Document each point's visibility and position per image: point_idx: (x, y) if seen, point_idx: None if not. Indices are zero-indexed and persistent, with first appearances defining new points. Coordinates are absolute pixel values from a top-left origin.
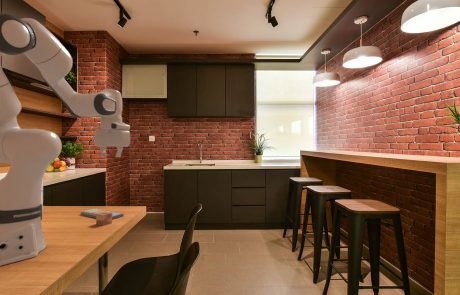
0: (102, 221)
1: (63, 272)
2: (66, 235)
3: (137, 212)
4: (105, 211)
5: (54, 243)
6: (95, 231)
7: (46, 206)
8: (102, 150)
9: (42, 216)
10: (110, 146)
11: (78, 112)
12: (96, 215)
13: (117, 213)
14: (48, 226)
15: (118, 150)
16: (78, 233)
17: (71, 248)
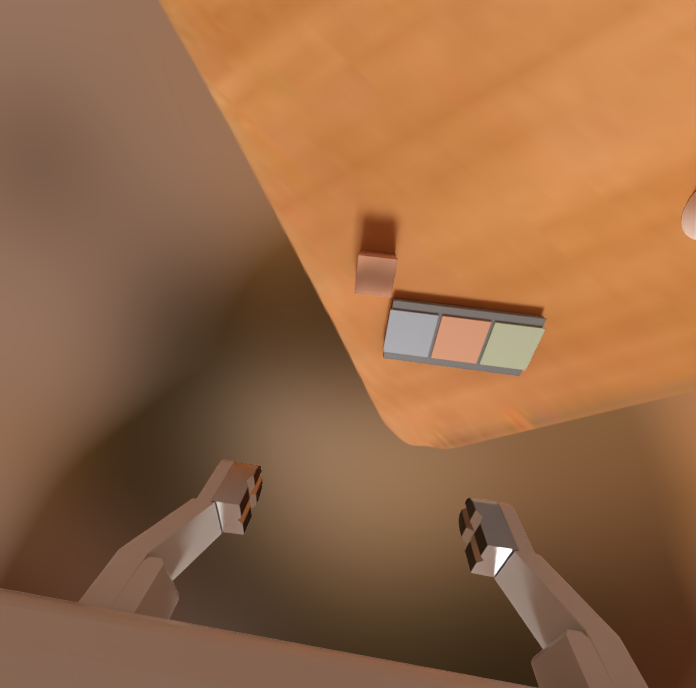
0: (362, 252)
1: None
2: (382, 103)
3: (375, 398)
4: (456, 353)
5: (342, 5)
6: (330, 190)
7: None
8: (546, 602)
9: (687, 233)
10: (289, 642)
11: None
12: (396, 258)
13: (398, 348)
14: (546, 149)
15: (145, 531)
16: (363, 144)
17: (244, 3)
